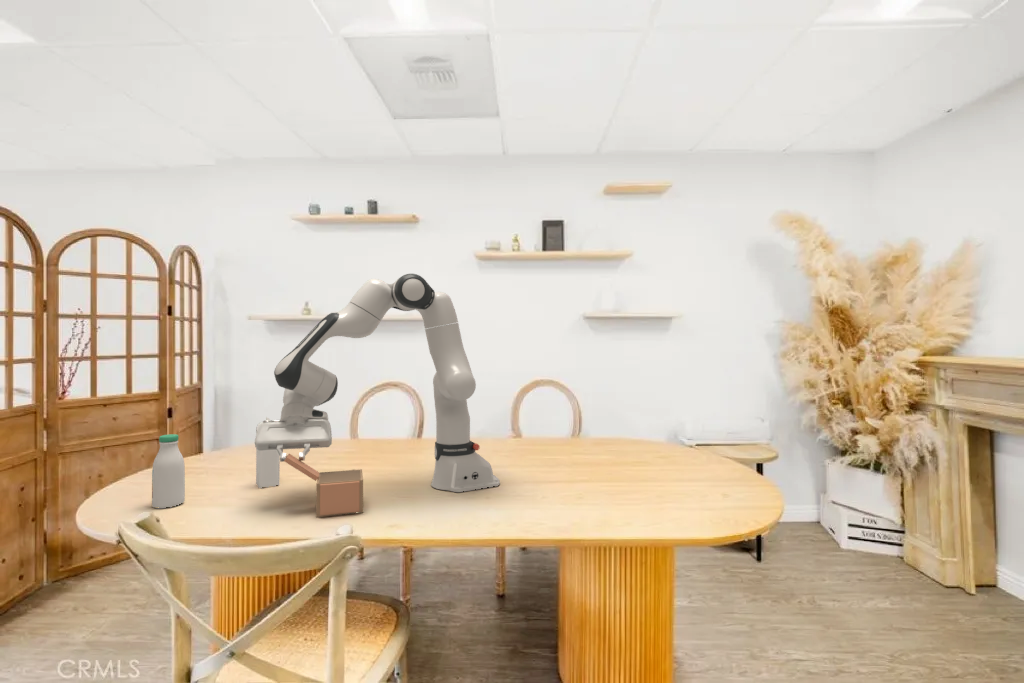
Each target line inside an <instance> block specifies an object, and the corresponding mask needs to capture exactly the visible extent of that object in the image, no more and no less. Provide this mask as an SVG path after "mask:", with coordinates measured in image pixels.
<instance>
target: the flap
mask: <svg viewBox="0 0 1024 683" xmlns="http://www.w3.org/2000/svg"><path fill="white" fill-rule="evenodd" d="M286 456H287V457H286V459H285V460H284V462H285V463H286V464H288V465H289V466H291V467H293V468H294V469H296V470H297V471H299V472H300V473H302V474H304V475H306V476H307V477H308V478H310V479H312V480H313V481H315V482H317V479H318V478H319V473H320V472H319V471H318V470H316V469H314V468H313V467H311V466H310V465H308V464H306V463H305V462H303V461H299V458H297V457H296V456H294V455H292V454H291V453H288V454H287V455H286Z"/></svg>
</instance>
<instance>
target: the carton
mask: <svg viewBox="0 0 1024 683" xmlns="http://www.w3.org/2000/svg"><path fill="white" fill-rule="evenodd" d="M363 476H364V475H363V469H361V468H360V469H347V470H335V471H322V472H319V478H318V479H317V480H316V486H315V490H316V491H315V492H316V496H315V497H316V498H315V500H316V501H315V506H316V508H315V510H316V513H315V514H316V516H315V517H316V518H324V517H325V518H326V517H332V516H333V517H334V516H335V517H336V516H343V515H342V514H345V515H349V514H348V513H355V514H357V513H356V512H363V513H364V477H363Z"/></svg>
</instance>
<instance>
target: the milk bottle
mask: <svg viewBox="0 0 1024 683" xmlns="http://www.w3.org/2000/svg"><path fill="white" fill-rule="evenodd" d="M179 437H180V436H179V434H175V433H173V434H171V433H170V434H163V435H160V436H159V437H158V442H159V450H158V451H157V454H156V456H155V457H154V460H153V463H152V470H151V471H152V473H151V474H152V477H151V478H152V479H151V506H152V508H154V507H159V508H158V509H167V508H166V507H170V508H173V507H172V506H175V507H177V506H176V505H178V506H180V505H179V504H181V503H183V502H184V503H185V501H186V500H185V499H186V497H185V496H186V495H185V494H186V488H185V486H186V483H185V482H186V480H185V478H186V473H185V471H186V470H185V459H184V457H183V455H182V453H181V451H180V449H179V446H178V443H179ZM184 503H183V504H184ZM181 505H182V504H181Z"/></svg>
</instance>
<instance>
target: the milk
mask: <svg viewBox="0 0 1024 683" xmlns="http://www.w3.org/2000/svg"><path fill="white" fill-rule="evenodd" d="M265 420H268V421H271V419H270V418H269V417H267V416H266V417H265ZM256 429H257V426H256ZM256 429H255V430H256ZM255 433H256V434H257V432H256V431H255ZM256 434H255V435H256ZM255 451H256V452H255V454H256V455H255V457H256V458H255V460H256V461H255V470H256V471H255V477H256V479H255V485H256V484H257V485H258V486H257V485H256V486H257V488H261V489H263V488H262V487H267V488H270V487H269V486H273V487H277V486H276V485H279V486H280V479H281V478H280V476H281V475H280V469H281V468H280V467H281V466H280V455H279V454H278V452H277V450H258V449H257V448H256V447H255Z"/></svg>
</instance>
